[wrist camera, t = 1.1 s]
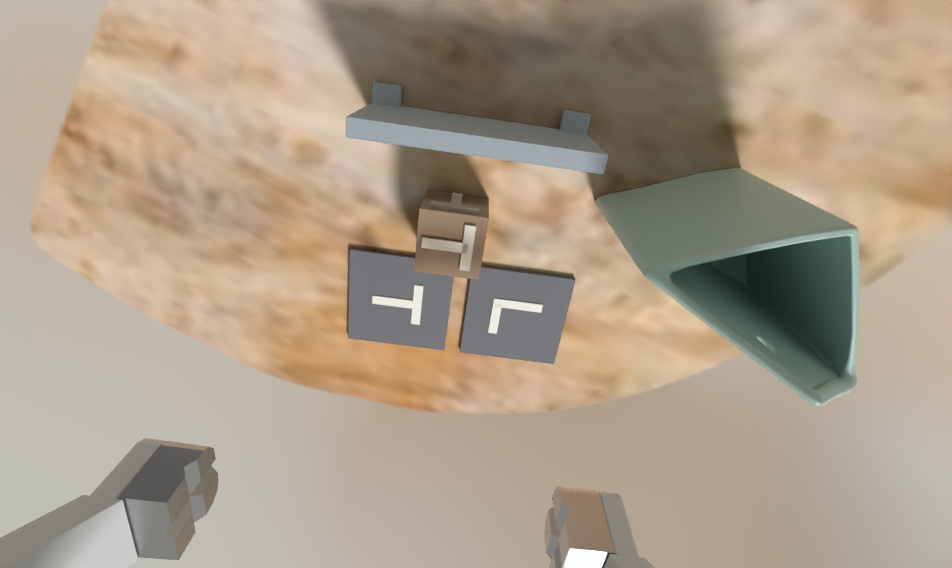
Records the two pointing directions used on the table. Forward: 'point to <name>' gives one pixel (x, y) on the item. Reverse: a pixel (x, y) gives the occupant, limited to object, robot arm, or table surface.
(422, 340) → the pad
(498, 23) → the table surface
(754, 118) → the table surface
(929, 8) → the table surface
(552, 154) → the screen
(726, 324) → the planter
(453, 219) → the cube
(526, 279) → the pad
